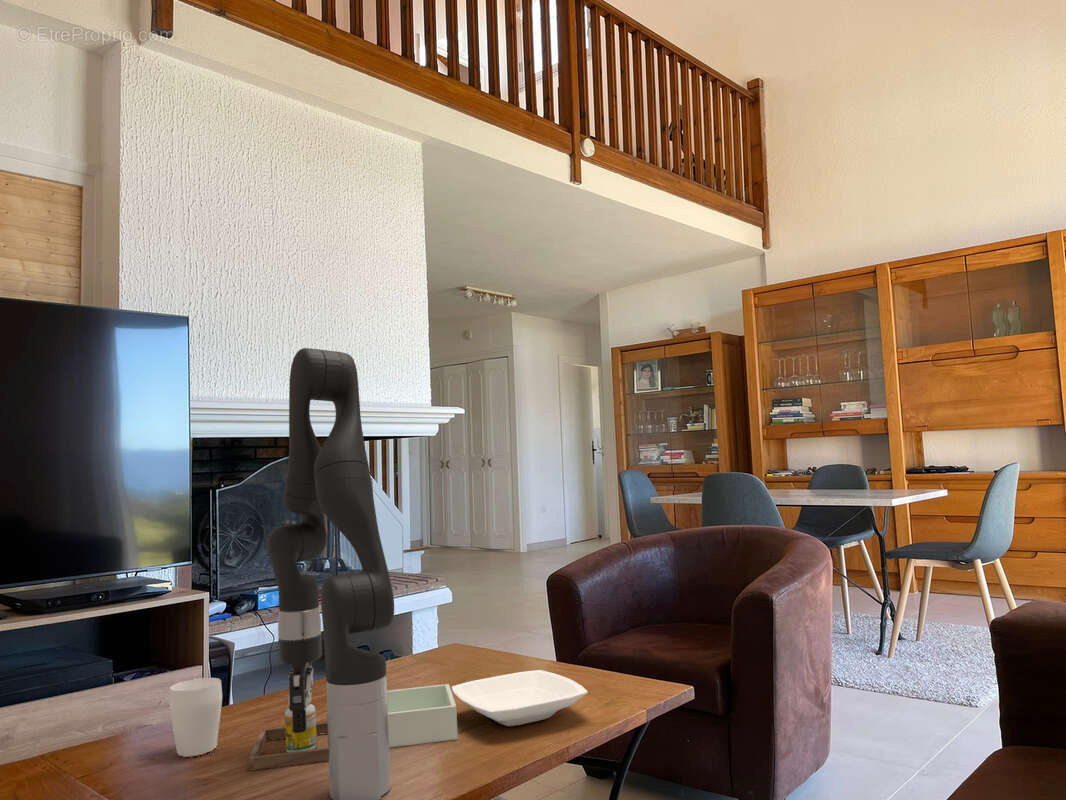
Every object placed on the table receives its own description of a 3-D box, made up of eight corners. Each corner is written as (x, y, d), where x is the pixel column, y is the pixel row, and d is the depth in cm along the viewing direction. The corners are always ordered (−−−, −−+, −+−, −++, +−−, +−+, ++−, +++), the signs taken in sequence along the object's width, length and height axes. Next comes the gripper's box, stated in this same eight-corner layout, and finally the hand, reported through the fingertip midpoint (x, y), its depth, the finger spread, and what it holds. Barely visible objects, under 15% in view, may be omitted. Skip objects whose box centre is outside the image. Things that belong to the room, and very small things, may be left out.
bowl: (442, 715, 157) (441, 686, 158) (546, 694, 168) (544, 667, 168) (486, 748, 137) (485, 714, 138) (600, 722, 148) (598, 691, 148)
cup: (165, 763, 138) (164, 693, 139) (174, 746, 147) (173, 681, 148) (220, 755, 141) (219, 687, 142) (226, 739, 149) (224, 675, 150)
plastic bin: (457, 739, 142) (456, 706, 143) (370, 749, 139) (368, 716, 140) (450, 713, 158) (448, 683, 158) (371, 722, 155) (369, 692, 155)
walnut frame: (343, 759, 136) (343, 747, 136) (249, 771, 133) (248, 758, 133) (347, 730, 151) (347, 719, 151) (262, 740, 148) (262, 729, 148)
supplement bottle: (319, 750, 141) (318, 695, 141) (289, 757, 138) (287, 701, 139) (313, 742, 145) (311, 688, 146) (283, 748, 143) (281, 694, 144)
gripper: (317, 640, 137) (320, 735, 136) (324, 623, 151) (326, 709, 150) (272, 644, 136) (275, 740, 135) (283, 627, 150) (286, 714, 149)
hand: (302, 724), depth 143 cm, fingers open, 8 cm apart
